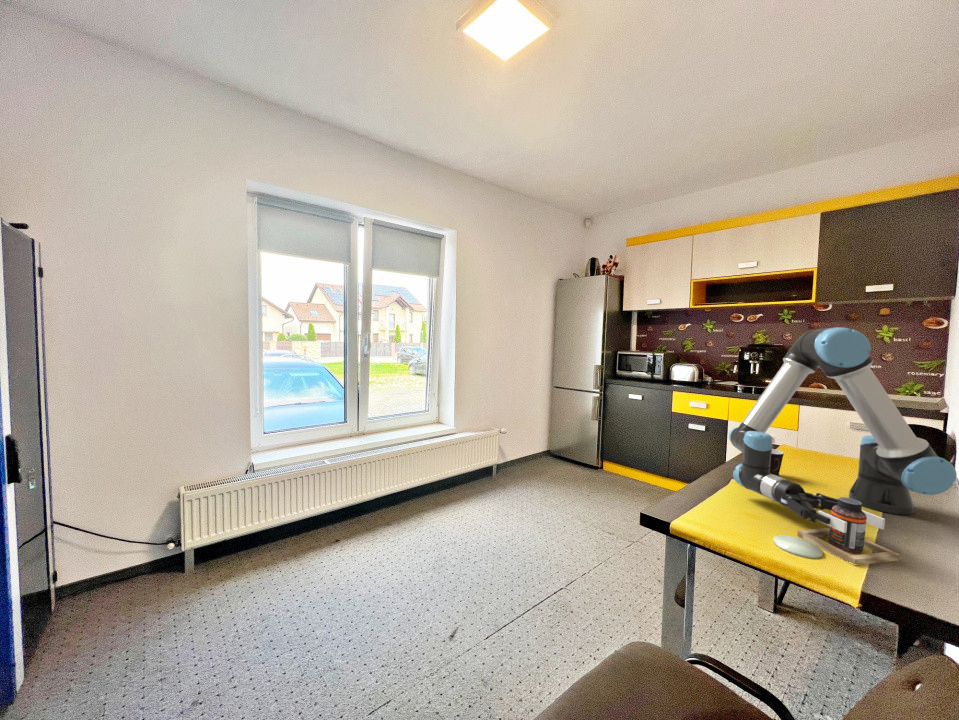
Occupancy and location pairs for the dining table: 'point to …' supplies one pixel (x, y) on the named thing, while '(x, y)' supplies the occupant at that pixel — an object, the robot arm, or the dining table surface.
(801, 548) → the sage coaster
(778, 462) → the coffee mug
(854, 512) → the supplement bottle
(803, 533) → the oak frame
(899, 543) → the dining table surface
